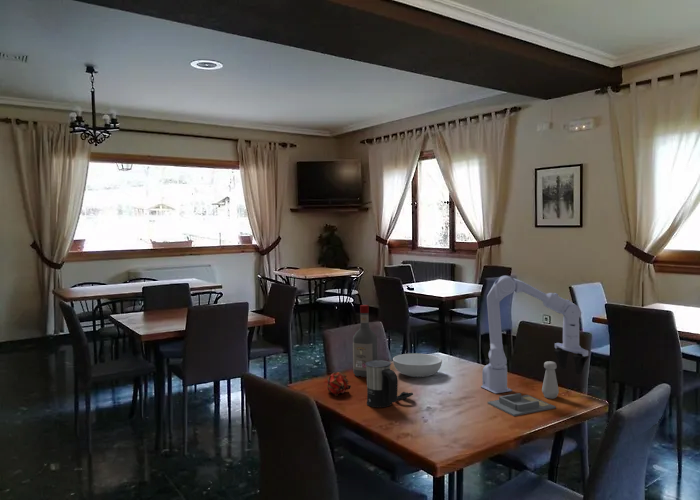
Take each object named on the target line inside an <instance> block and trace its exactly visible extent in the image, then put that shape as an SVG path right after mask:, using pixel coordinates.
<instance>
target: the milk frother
mask: <svg viewBox="0 0 700 500" xmlns="http://www.w3.org/2000/svg"><path fill="white" fill-rule="evenodd" d="M391 365H392V363H391V362H390V361H388V360H380V359H379V360H378V359H377V360H376V361H369V362H367V363H366V368H367V377H366V386H367V387H366V388H367V389H366V392H367V393H366V396H367V397H366V405H367V406H369V407H373V408H386V407H390V406H392V404H394V403H396V402H398V401H401V400H403V401H404V400H406V399H408V398H410V397H412V396H413V395H414V393H413V392H405V391H402V392H401V393H399V394H398V385H399V384H398V382H399V380H398V376H397V374H396V372H395V371H394V370H393V369H391Z"/></svg>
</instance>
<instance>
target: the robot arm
mask: <svg viewBox="0 0 700 500" xmlns="http://www.w3.org/2000/svg"><path fill="white" fill-rule="evenodd" d="M514 292H515V293H516V294H517V293H524V294H527V295H528V296H531V297H533V298H535V299H537V300H539V301H541V302H542V304H543V307H545V308H548V310H549V309H550V310H552V311H553V312H555V313H558V314H559V315H560V314H561V315H562V319H563V320H562V321H563V322H562V343H560V342H556V343H555V342H554V348H555V349H554V351H553V353H554V354H555V356H556V358H557V360H558V364H559V367H560V370H565V369H567V361H568V354H569V352H571V353H573V354H574V355H572V357H573V360H574V364H575V366H574V367H575V374H576V375H581V374H583V371H584V366H585V364H586V362H587V361H588V359H589V358H590V357H589V350H588V349H584V347H581V345H580V318H581V316H582V311H581V308H580V307H579V306H578V305H577V304H575V303H573V301H571V300H570V299H568V298H567V299H565V298H563V297H561V296H559V293H556V292H554V293H553V292H547V293H546V292H545V291H544V292H543V291H541V290H539V289H538V288H536V287H535V286H532V285H531V284H529V283H526V282H525V281H523V280H520V279H518V278H515V277H513V278H512V277H511V276H509V275H506V274H505V275H501V276H500V277H498V278H497V279H496V280H495V281H494V282H493V285H491V288H490V290H489V291H488V292H487V293H488V294H487V295H486V305H487V320H488V321H487V322H488V332H489V347H490V348H489V351H488V354H487V355H488V358H489V359H488V360H489V363H488V364H486V365H484V367H483V368H482V377H481V378H482V385H480V388H482V389H484V390H486V391H489V392H490V393H493V394H495V395H496V394H501V393H502V394H503V393H507V392H512V391H513V389H511V388H510V387H508V365H507V363H508V362H507V360H508V359H507V357H506V353H505V351H504V345H503V334H502V321H501V318H502V317H501V309H500V308H501V307H500V302H501V301H502V300H503V299H504V298H505V297H507V296H509V295H512V293H514Z"/></svg>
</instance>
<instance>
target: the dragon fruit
mask: <svg viewBox="0 0 700 500" xmlns="http://www.w3.org/2000/svg"><path fill="white" fill-rule="evenodd" d="M326 384H327V385H326V386H327V390H328V391H327V392H329V393H332V394H333V396H336V395H337V396H339V395H340V394H344V393H345V392H346V391H347V390H350V389H351V388H352V385H350V384H349V380H348V379H347V375H346V374H342V372H339V371H337V372H336V371H335V372H332V373H331V374H330V375H329V376H328V377H327V382H326ZM338 394H339V395H338Z"/></svg>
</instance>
